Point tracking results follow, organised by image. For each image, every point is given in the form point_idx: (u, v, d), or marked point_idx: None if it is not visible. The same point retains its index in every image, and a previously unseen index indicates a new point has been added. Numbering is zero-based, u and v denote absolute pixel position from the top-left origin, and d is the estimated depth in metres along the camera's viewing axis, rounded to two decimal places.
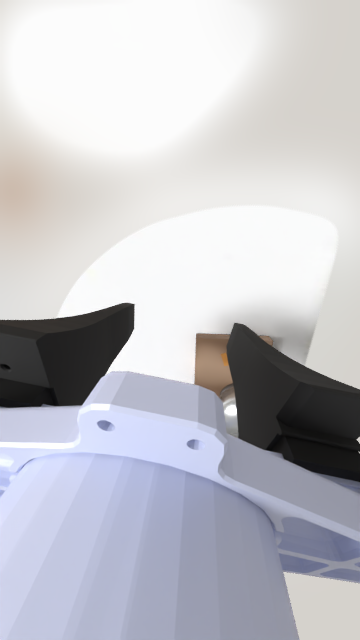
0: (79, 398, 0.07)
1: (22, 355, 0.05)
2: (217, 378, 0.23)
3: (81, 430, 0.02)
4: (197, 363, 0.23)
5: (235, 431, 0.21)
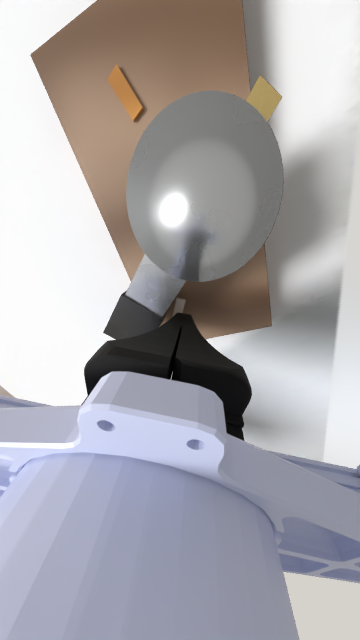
0: None
1: None
2: None
3: (81, 430, 0.02)
4: (78, 151, 0.10)
5: (184, 249, 0.07)
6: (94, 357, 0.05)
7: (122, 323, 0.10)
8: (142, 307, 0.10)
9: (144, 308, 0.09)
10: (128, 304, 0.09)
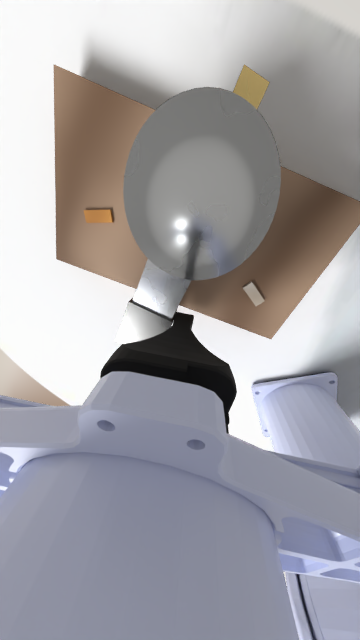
0: None
1: None
2: None
3: (81, 430, 0.02)
4: (105, 273, 0.13)
5: (186, 249, 0.07)
6: (111, 360, 0.05)
7: (132, 329, 0.10)
8: (150, 311, 0.10)
9: (153, 312, 0.09)
10: (136, 310, 0.09)
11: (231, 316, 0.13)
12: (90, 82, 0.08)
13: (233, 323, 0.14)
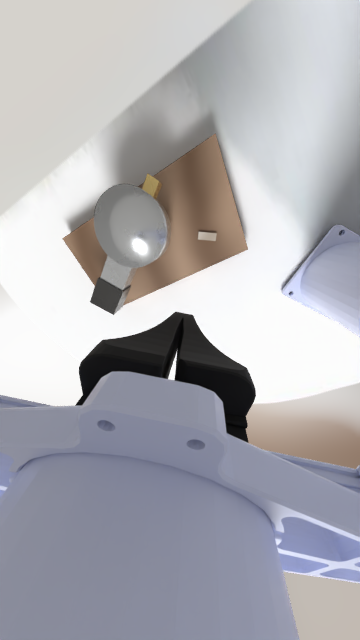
0: None
1: None
2: None
3: (81, 430, 0.02)
4: (133, 298, 0.21)
5: (125, 251, 0.15)
6: (88, 356, 0.05)
7: (100, 295, 0.17)
8: (110, 284, 0.17)
9: (111, 285, 0.17)
10: (102, 283, 0.17)
11: (209, 259, 0.18)
12: (74, 231, 0.18)
13: (215, 262, 0.18)
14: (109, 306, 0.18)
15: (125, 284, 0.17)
